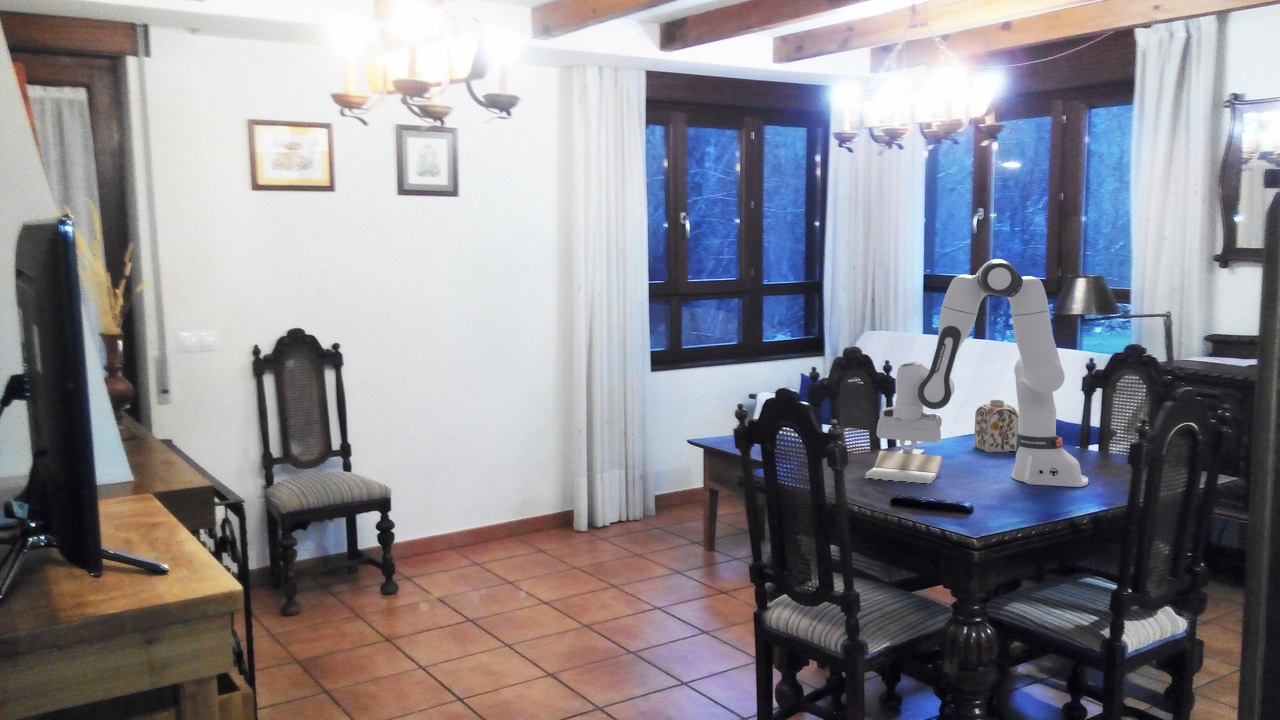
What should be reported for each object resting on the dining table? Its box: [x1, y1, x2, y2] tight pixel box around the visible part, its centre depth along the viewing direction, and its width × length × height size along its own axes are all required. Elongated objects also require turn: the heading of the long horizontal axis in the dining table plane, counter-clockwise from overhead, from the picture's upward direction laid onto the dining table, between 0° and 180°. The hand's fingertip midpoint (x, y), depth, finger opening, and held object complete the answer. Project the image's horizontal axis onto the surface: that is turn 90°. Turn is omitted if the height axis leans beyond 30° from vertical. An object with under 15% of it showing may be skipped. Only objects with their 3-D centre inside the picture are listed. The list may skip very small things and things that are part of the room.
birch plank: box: [873, 450, 943, 477], centre depth 336 cm, size 20×8×2 cm, turn 62°
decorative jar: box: [973, 399, 1019, 453], centre depth 373 cm, size 12×12×18 cm
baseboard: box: [897, 444, 926, 454], centre depth 359 cm, size 30×3×10 cm
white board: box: [864, 467, 937, 485], centre depth 328 cm, size 20×10×2 cm, turn 62°
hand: (907, 453), depth 336 cm, fingers closed
